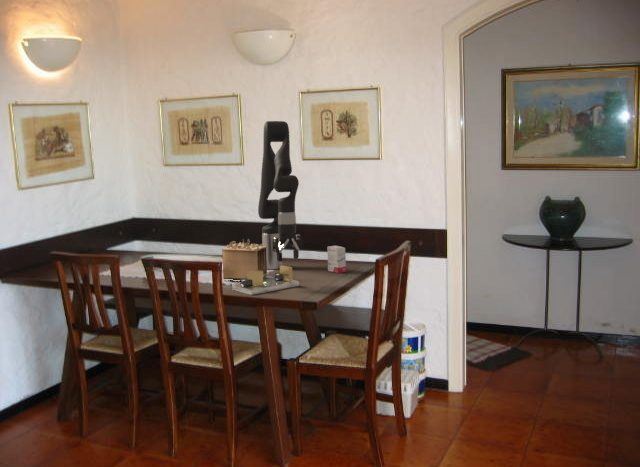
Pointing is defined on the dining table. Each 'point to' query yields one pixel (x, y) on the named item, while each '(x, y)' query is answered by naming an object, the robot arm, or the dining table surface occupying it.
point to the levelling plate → (265, 286)
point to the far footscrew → (284, 273)
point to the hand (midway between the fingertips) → (287, 260)
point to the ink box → (336, 259)
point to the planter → (244, 260)
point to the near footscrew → (253, 278)
